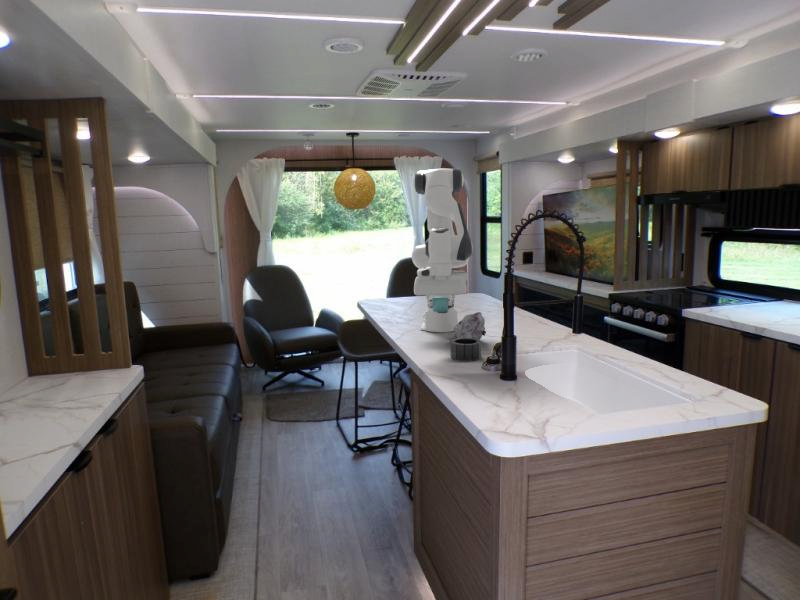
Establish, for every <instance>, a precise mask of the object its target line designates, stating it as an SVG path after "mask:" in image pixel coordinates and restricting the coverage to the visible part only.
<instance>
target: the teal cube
mask: <svg viewBox="0 0 800 600" xmlns="http://www.w3.org/2000/svg"><path fill="white" fill-rule="evenodd" d="M432 302H433V311H434V312H446V311H448V297H433V298H432Z"/></svg>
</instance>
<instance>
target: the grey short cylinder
mask: <svg viewBox="0 0 800 600" xmlns="http://www.w3.org/2000/svg"><path fill="white" fill-rule="evenodd" d="M449 343H450V344H449V345H450V346H449V348H450V349H449V353H450V354H449V355H450V359H452V360H453V361H458V362H474V361H475V362H476V361H479V360H481V358H482V341H481V339H480V340H478V339H474V338H457V339H455V338H453V339H451V340H450V341H449Z"/></svg>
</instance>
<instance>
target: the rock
mask: <svg viewBox="0 0 800 600" xmlns="http://www.w3.org/2000/svg"><path fill="white" fill-rule="evenodd" d="M485 322H486V321H485V317H484V316H483V314H482V312H480V311H478V312H475V313H472V314H471V313H469V314H467V315H464V317H463V318H462V319H461V320H460V321H458V324H456V325H455V326H454V331H453V332H454V337H453V339H457V338H474V339H478V340H480V341H481V339H482V337H485V336H486V333H487V331H486V327H485V324H486V323H485Z"/></svg>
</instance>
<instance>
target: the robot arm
mask: <svg viewBox="0 0 800 600" xmlns="http://www.w3.org/2000/svg"><path fill="white" fill-rule="evenodd" d="M464 178H465V177H464V175H463V172H462V170H461V169H460V168H455V167H452V168H445V167H441V168H439V167H438V168H433V169H426V170H424V169H422V170H418V171H417V172H415V174H414V177H413V180H412V181H413V182H412V183H413V185H412V186H413V189H414V190H415V192H416V194H418V195H422V196H423V195H424V197H425V200H424V201H425V204H426V207H427V208H426V209H427V210H426V214H427V221H426V222H427V231H428V233H429V234H428V238H427V239H426V240H425V241H424V244H420V245H416V246H415V247H414V248H413V250H412V252H411V261H412V263H413V265H414V266H415V267H416V268H418V269H417V271H416V275H417V276H416V277H415V279H414V284H413V293H414V295H415V296H425V298H426V300H427V309H426V310H425V312H424V313H423V314H422V319H423V323H422V325H421V326H420V330H421V331H427V332H433V333H450V332H454V326H455V325H456V324H458V323H459V320H458V319H459V318H458V317H459V316H458V310H456V308H455V298H456V295H466V294H467V292H468V285H467V280H468V274H467V272H466V271H465V270H463V269H459V270H456V269H457V268H462V267H465V266H466V265H468V263H469V260H470V258H471V256H473V249H474V246H473V242H472V240H471V237H470V233H469V231H468V226H467V222H466V219H465V215H464V212H463V208H462V206H461V204H460V202H458V201H456V199H455V198H454V197H456V195H457V194H459V192H461V191H462V189H463V186H464V184H465V183H464V182H465V179H464ZM453 223H454V224H453ZM453 225H455V229H456V230H455V231H456V233H457V234H456V233H455V231H454V227H453ZM433 297H448V311H446V312H434V311H433V302H432V298H433Z"/></svg>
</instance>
